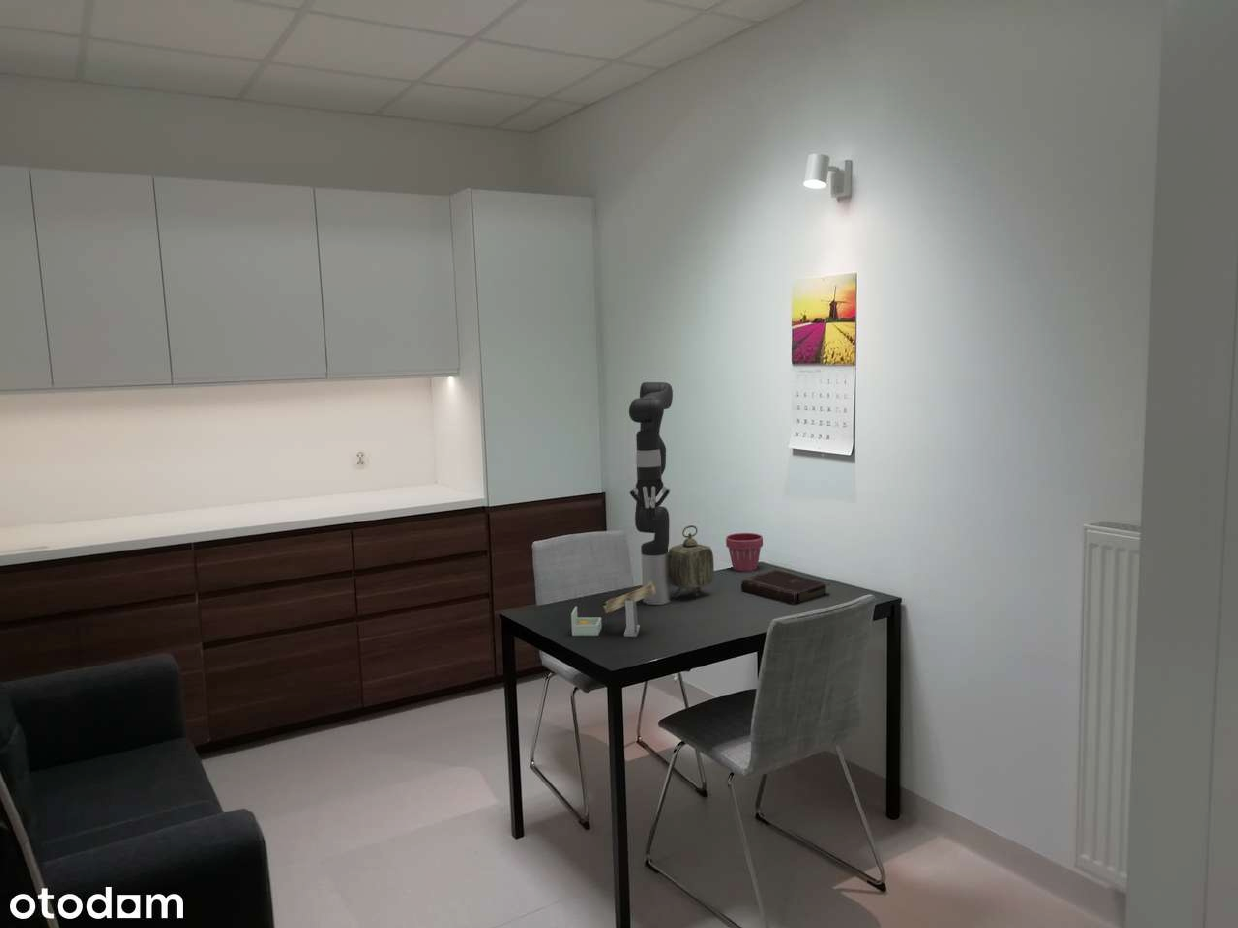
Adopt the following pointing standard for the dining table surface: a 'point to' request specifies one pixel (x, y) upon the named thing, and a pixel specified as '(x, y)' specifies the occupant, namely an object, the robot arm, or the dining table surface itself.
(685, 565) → the tabletop clock
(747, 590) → the diary
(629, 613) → the fulcrum
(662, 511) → the robot arm
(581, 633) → the pale green cubby shelf
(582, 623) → the ball
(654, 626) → the dining table surface
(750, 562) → the plant pot
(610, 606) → the lever
